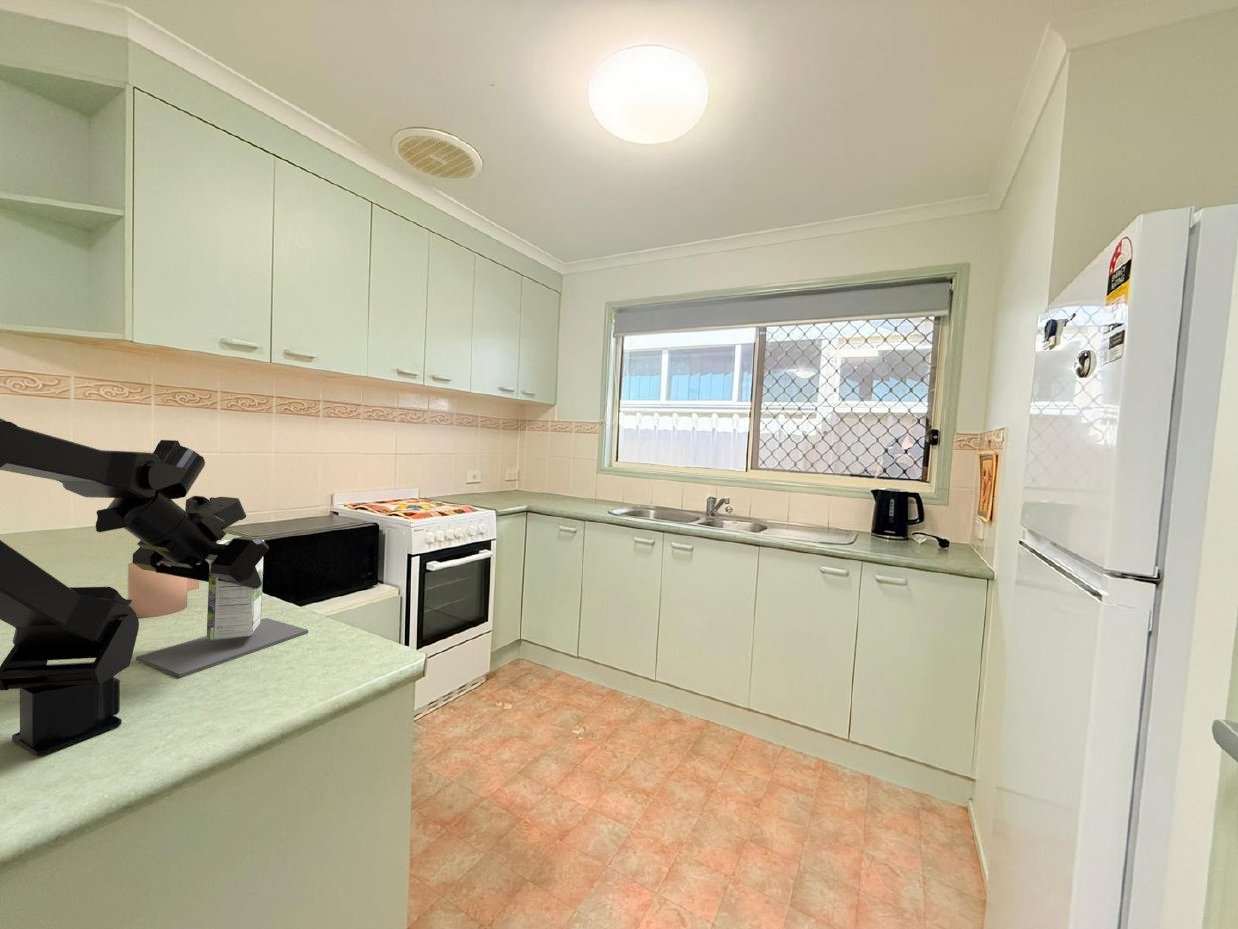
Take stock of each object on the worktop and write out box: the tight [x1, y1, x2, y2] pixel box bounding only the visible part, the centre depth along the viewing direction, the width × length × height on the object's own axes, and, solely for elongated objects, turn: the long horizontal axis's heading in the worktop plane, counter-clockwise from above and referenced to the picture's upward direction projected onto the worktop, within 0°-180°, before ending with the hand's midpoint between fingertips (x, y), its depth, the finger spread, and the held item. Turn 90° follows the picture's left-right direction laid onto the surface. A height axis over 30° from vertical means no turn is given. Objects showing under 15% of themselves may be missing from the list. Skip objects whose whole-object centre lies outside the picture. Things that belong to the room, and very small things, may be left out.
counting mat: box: [135, 617, 309, 679], centre depth 76 cm, size 18×11×1 cm, turn 158°
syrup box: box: [206, 538, 265, 640], centre depth 77 cm, size 6×6×14 cm
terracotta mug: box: [127, 561, 200, 619], centre depth 90 cm, size 10×8×9 cm
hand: (238, 583), depth 77 cm, fingers closed on syrup box, 8 cm apart
